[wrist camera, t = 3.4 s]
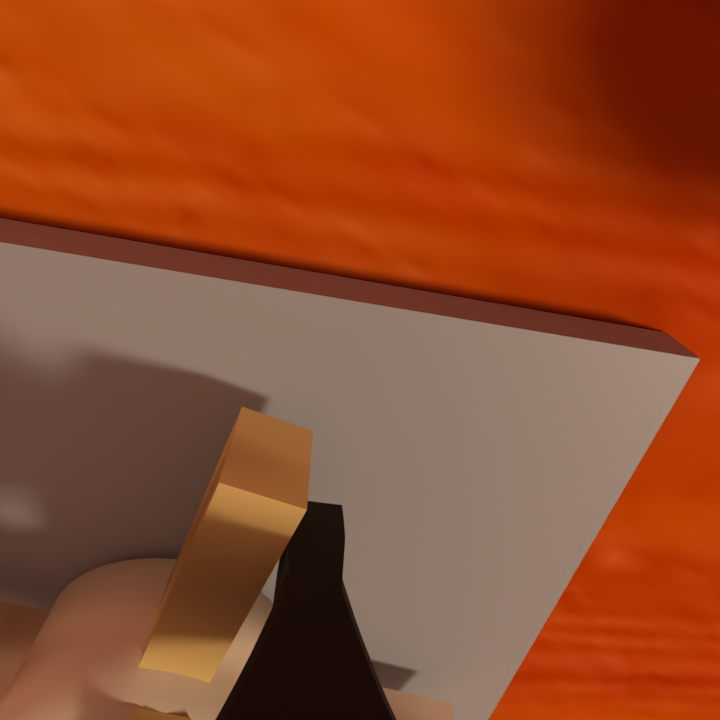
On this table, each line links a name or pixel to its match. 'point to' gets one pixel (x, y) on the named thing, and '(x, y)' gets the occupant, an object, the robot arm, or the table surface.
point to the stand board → (321, 435)
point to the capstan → (174, 604)
